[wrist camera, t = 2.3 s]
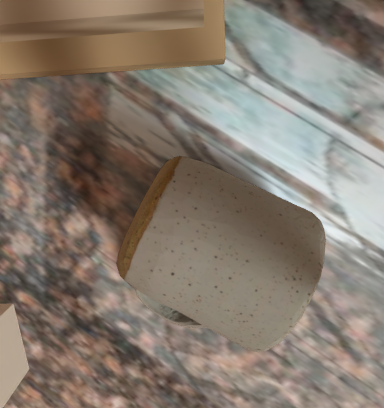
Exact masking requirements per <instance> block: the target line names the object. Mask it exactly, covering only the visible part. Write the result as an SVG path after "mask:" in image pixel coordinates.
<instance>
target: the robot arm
mask: <svg viewBox="0 0 384 408" xmlns="http://www.w3.org/2000/svg"><path fill="white" fill-rule="evenodd" d="M28 370H29V367H28V362H27V358H26V354H25V350H24V346H23V342H22V338H21V333H20V329H19V325H18V321H17V317H16V313H15V309H14V304H0V408H3V406H4V405H5V404H6V402H7V401H8V399H9V398H10V396H11V395H12V393H13V392H14V391H15V389H16V388H17V386H18V385H19V383H20V382H21V380H22V379H23V377H24V376H25V375H26V373H27V372H28Z"/></svg>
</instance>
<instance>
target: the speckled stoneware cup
mask: <svg viewBox="0 0 384 408" xmlns="http://www.w3.org/2000/svg"><path fill="white" fill-rule="evenodd" d="M325 242H326V239H325V232H324V228H323V225H322V223H321V221H320V220H319V219H318V218H317V217H316V216H315V215H314V214H313V213H312V212H310V211H308V210H306V209H304V208H301V207H299V206H297V205H294V204H292V203H290V202H288V201H286V200H284V199H282V198H280V197H277V196H275V195H273V194H271V193H269V192H267V191H265V190H263V189H261V188H259V187H257V186H254V185H252V184H249V183H247V182H245V181H243V180H241V179H239V178H237V177H235V176H233V175H231V174H228V173H226V172H224V171H222V170H220V169H218V168H216V167H214V166H212V165H210V164H208V163H205V162H201V161H198V160H194V159H191V158H188V157H182V156H179V157H174V158H172V159H170V160H168V161H167V162H166V163H165V164H164V166H163V167H162V168H161V170H160V171H159V173H158V174H157V176H156V177H155V179H154V181H153V182H152V184H151V186H150V188H149V189H148V191H147V193H146V195H145V196H144V198H143V200H142V202H141V204H140V206H139V208H138V210H137V212H136V214H135V217H134V219H133V221H132V223H131V225H130V227H129V228H128V231H127V233H126V236H125V238H124V241H123V243H122V246H121V249H120V251H119V254H118V259H117V267H118V271H119V274H120V276H121V277H122V278H123V279H124V280H125V281H127V282H128V283H129V284H130V285H131V286H133V287H134V288H135V291H136V294H137V295H138V297H139V299H140V300H141V301H142V302H143V304H144V305H145V306H146V307H147V308H149V309H150V310H151V311H152V312H154V313H155V314H157V315H158V316H160V317H162V318H164V319H165V320H167V321H170V322H172V323H175V324H178V325H181V326H186V327H192V328H201V327H207V328H209V329H211V330H213V331H214V332H216V333H218V334H220V335H221V336H223V337H225V338H227V339H229V340H231V341H233V342H235V343H237V344H239V345H240V346H242V347H244V348H246V349H249V350H251V351H254V352H263V351H266V350H268V349H270V348H272V347H274V346H276V345H277V344H279V343H280V342H281V341H282V340H283V339H284V338H285V337H286V336H287V335H288V334H289V333H290V332H291V330H292V329H293V328H294V327H295V325H296V324H297V322H298V321H299V320H300V318H301V317H302V315H303V313H304V311H305V309H306V307H307V306H308V304H309V302H310V300H311V298H312V296H313V294H314V292H315V289H316V287H317V284H318V282H319V279H320V276H321V272H322V269H323V264H324V255H325Z"/></svg>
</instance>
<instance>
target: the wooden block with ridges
mask: <svg viewBox="0 0 384 408" xmlns="http://www.w3.org/2000/svg"><path fill="white" fill-rule="evenodd" d="M224 62H225V22H224V0H0V80H1V79H15V78H30V77H44V76H59V75H73V74H88V73H103V72H117V71H132V70H146V69H161V68H175V67H190V66H204V65H219V64H224Z"/></svg>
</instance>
